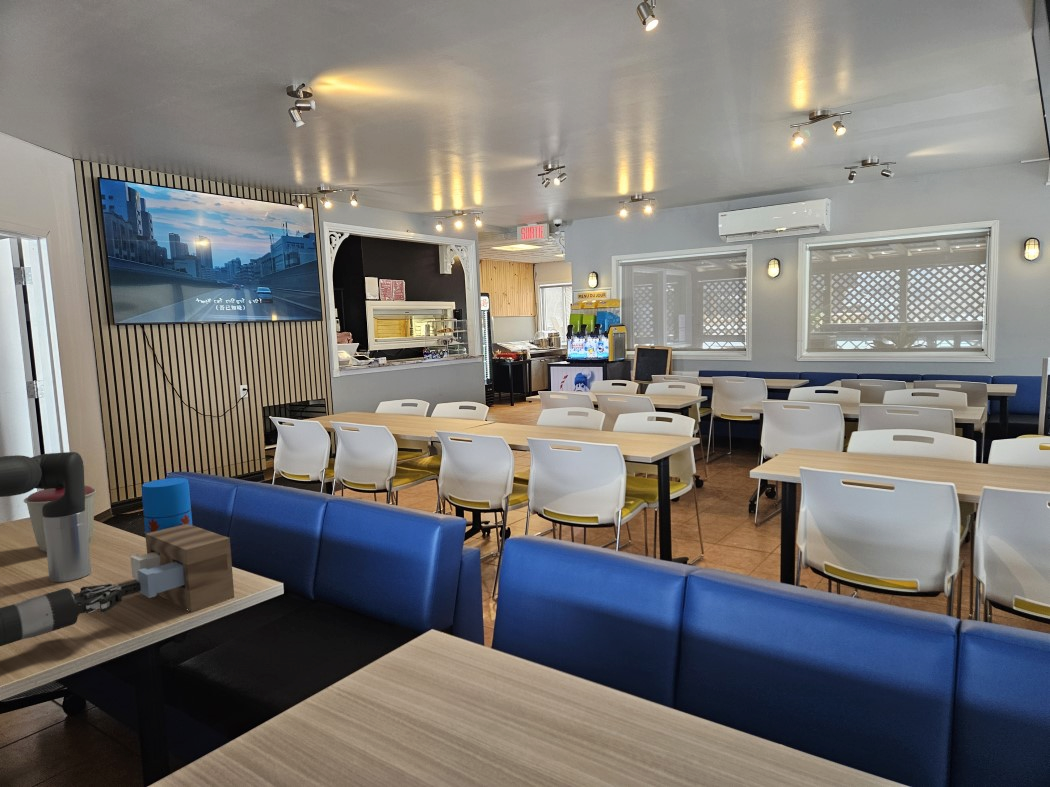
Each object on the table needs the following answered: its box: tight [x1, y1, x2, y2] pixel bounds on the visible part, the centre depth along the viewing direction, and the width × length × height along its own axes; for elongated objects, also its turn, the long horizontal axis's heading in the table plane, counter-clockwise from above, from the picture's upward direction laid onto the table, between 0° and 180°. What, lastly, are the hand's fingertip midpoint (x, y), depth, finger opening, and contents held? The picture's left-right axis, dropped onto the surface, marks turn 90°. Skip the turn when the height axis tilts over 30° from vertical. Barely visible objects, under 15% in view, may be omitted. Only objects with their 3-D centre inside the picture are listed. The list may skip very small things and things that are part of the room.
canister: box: [23, 485, 97, 553], centre depth 198 cm, size 18×18×21 cm
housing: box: [144, 524, 235, 613], centre depth 157 cm, size 22×10×14 cm, turn 51°
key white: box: [130, 552, 161, 581], centre depth 158 cm, size 5×12×5 cm, turn 141°
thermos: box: [141, 477, 193, 534], centre depth 169 cm, size 11×11×25 cm
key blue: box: [137, 561, 185, 599], centre depth 148 cm, size 5×12×5 cm, turn 141°
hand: (139, 585), depth 143 cm, fingers closed
